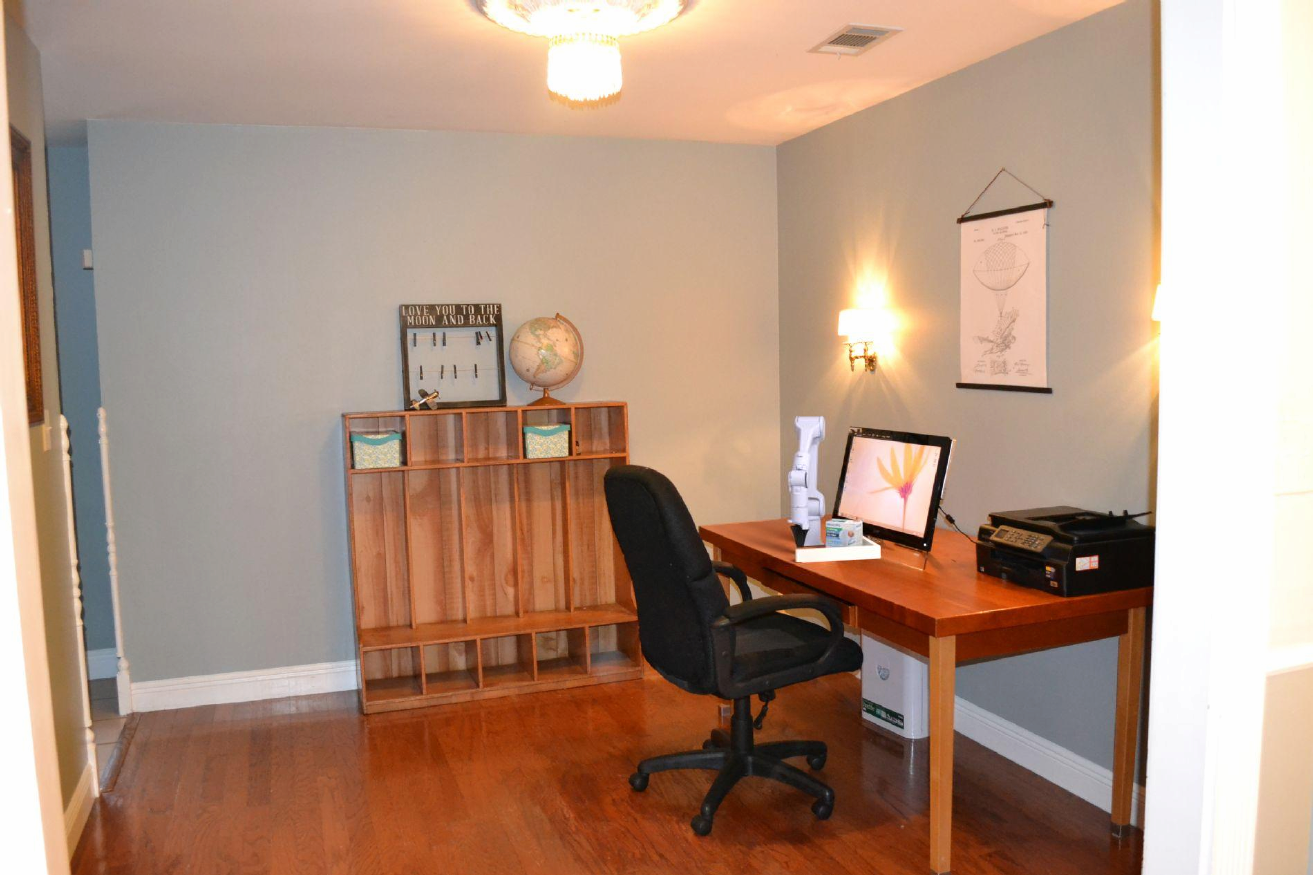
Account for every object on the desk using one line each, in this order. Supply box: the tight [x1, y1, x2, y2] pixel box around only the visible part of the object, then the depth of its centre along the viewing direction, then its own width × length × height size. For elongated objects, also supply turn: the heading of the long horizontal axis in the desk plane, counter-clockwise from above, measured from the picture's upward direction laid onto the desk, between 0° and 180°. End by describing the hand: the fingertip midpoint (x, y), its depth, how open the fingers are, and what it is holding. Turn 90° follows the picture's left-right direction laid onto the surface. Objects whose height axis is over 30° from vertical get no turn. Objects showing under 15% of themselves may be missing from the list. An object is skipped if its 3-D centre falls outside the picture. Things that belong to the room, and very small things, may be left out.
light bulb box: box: [825, 518, 864, 548], centre depth 331 cm, size 11×7×11 cm, turn 59°
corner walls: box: [794, 535, 882, 563], centre depth 331 cm, size 20×28×4 cm
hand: (800, 547), depth 331 cm, fingers closed
